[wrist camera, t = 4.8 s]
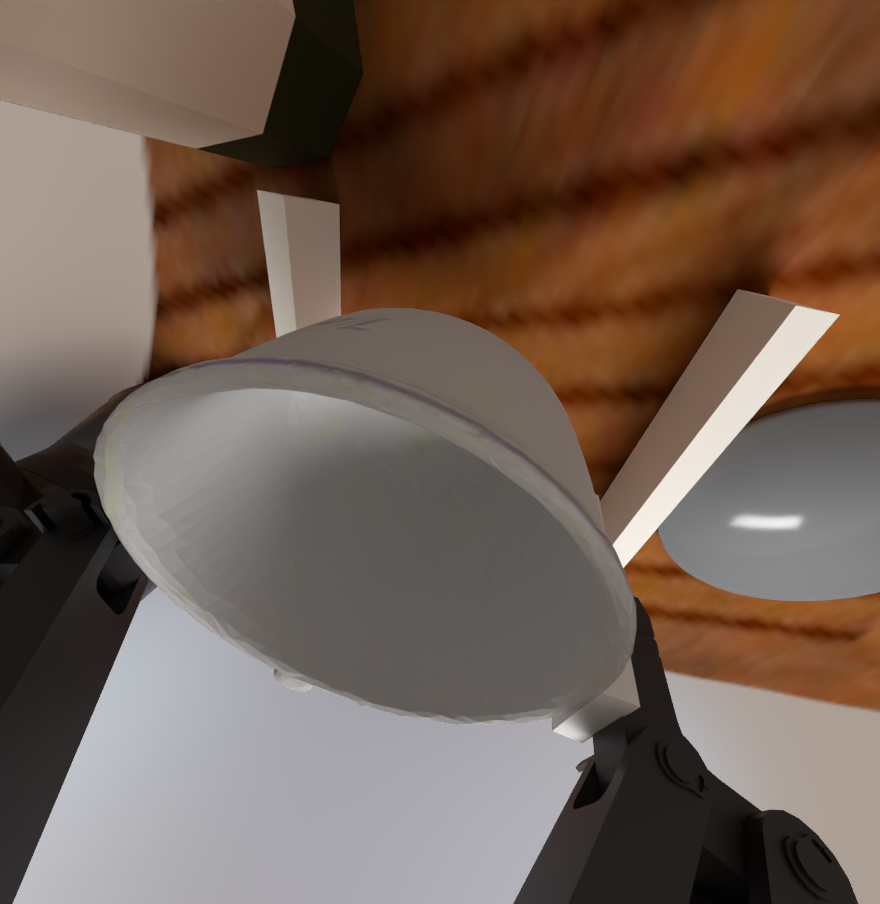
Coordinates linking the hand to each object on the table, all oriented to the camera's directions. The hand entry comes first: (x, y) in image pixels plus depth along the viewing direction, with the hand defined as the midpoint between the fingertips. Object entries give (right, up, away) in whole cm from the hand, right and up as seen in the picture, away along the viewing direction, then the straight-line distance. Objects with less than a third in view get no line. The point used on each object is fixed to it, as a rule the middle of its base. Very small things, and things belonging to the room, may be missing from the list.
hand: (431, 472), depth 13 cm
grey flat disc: (+19, -2, +4) cm, 20 cm away
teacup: (0, +1, +1) cm, 1 cm away
